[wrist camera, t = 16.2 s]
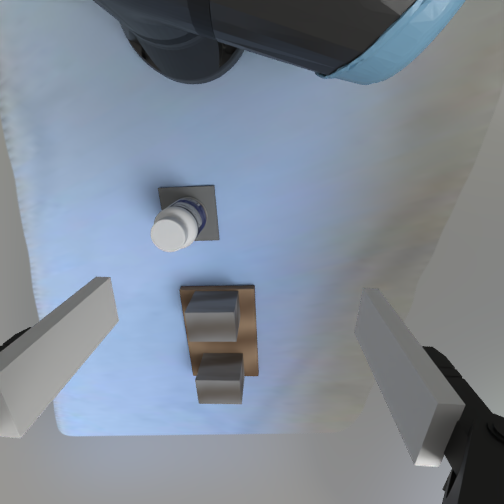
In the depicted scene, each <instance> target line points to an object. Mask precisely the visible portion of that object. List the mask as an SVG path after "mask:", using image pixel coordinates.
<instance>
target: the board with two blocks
mask: <svg viewBox="0 0 504 504" xmlns="http://www.w3.org/2000/svg"><path fill="white" fill-rule="evenodd" d="M179 291H180V297H181V303H182V309H183V315H184V321H185V327H186V334H187V340H188V346H189V352H190V358H191V364H192V370H193V376H196V380H195V382H196V388H197V394H198V400H199V404H242V396H243V386H244V376H258V373H259V370H258V349H257V328H256V307H255V286H254V285H243V286H182V287H181V288H180V290H179Z"/></svg>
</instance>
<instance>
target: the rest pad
mask: <svg viewBox="0 0 504 504" xmlns="http://www.w3.org/2000/svg"><path fill="white" fill-rule="evenodd" d="M158 191H159V197H160V203H161V209H162V210H163V209H165V208H167V207H168V206H170V205H171V204H172V203H174V202H175V201H177V200H179V199H181V198H184V197H191V198H194V199H196V200H198V201H199V202H201V203H202V204H203V206H204V207H205V209H206V212H207V222H206V224H205V226H204V228H203V229H202V231H201V232H200V233H199V235H198V236H197V238H196V239H195V240H194V241H205V240H219V230H218V219H217V209H216V198H215V187H214V186H194V187H168V188H158Z"/></svg>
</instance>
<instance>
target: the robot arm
mask: <svg viewBox="0 0 504 504" xmlns="http://www.w3.org/2000/svg"><path fill="white" fill-rule="evenodd" d="M93 1H94V2H96V3H97V4H98V5H100V6H101V7H102V8H103V9H105V10H106V11H107V12H108V13H110V14H111V15H112V16H113V17H115V18H116V19H117V20H118V21H119V22H120V24H121V26H122V29H123V31H124V33H125V35H126V37H127V39H128V41H129V42H130V44H131V45H132V47H133V48H134V50H135V51H136V52H137V54H138V55H139V56H140V57H141V58H142V59H143V60H144V61H145V62H146V63H147V64H148V65H149V66H150V67H152V68H153V69H154V70H156V71H157V72H159V73H160V74H162V75H164V76H165V77H167V78H169V79H171V80H174V81H176V82H180V83H185V84H202V83H206V82H210V81H212V80H215V79H217V78H219V77H220V76H222V75H223V74H225V73H226V72H227V71H228V70H230V69H231V68H232V67H233V66H234V64H235V63H236V62H237V61H238V59H239V58H240V57H241V55H242V53H243V52H244V50H247V51H250V52H253V53H256V54H259V55H263V56H266V57H269V58H272V59H276V60H279V61H282V62H285V63H288V64H292V65H295V66H298V67H301V68H305V69H308V70H311V71H314V72H315V74H316V75H317V76H319V77H321V78H324V79H327V78H330V79H332V78H337V79H341V80H345V81H349V82H353V83H357V84H361V85H369V84H372V83H378V82H380V81H384V80H386V79H388V78H390V77H392V76H393V75H395V74H396V73H398V72H399V71H401V70H402V69H403V68H405V67H406V66H407V65H408V64H409V63H411V62H412V61H413V60H414V59H415V58H416V57H417V56H418V55H419V54H420V53H421V52H422V51H423V50H424V49H425V48H426V47H427V46H428V45H429V44H430V43H431V42H432V41H433V40H434V39H435V37H436V36H437V35H438V34H439V33H440V32H441V31H442V30H443V28H444V27H445V26H446V25H447V24H448V22H449V21H450V20H451V19H452V17H453V16H454V15H455V14H456V12H457V11H458V10H459V9H460V7H461V6H462V5H463V3H464V2H465V1H466V0H93ZM118 321H119V319H118V314H117V309H116V304H115V299H114V294H113V289H112V283H111V278H110V277H95V278H94V279H93V280H91V281H90V282H89V283H88V284H86V285H85V286H84V287H82V288H81V289H80V290H79V291H77V292H76V293H75V294H74V295H72V296H71V297H70V298H68V299H67V300H66V301H65V302H63V303H62V304H61V305H60V306H58V307H57V308H56V309H54V310H53V311H52V312H51V313H49V314H48V315H47V316H46V317H44V318H43V319H42V320H40V321H39V322H38V323H37V324H35V325H34V326H33V327H29V328H27V329H25V330H23V331H21V332H19V333H17V334H15V335H14V336H13V337H11V338H10V339H9V340H7V341H6V342H5V343H3V346H0V437H12V438H22V437H23V435H24V434H25V433H26V432H27V431H28V429H29V428H30V427H31V426H32V424H33V423H34V422H35V421H36V420H37V419H38V417H39V416H40V415H41V414H42V413H43V411H44V410H45V409H46V408H47V406H48V405H49V404H50V403H51V402H52V401H53V399H54V398H55V397H56V396H57V395H58V393H59V392H60V391H61V390H62V389H63V387H64V386H65V385H66V384H67V382H68V381H69V380H70V379H71V378H72V376H73V375H74V374H75V373H76V372H77V370H78V369H79V368H80V367H81V366H82V364H83V363H84V362H85V361H86V360H87V358H88V357H89V356H90V355H91V354H92V352H93V351H94V350H95V349H96V348H97V346H98V345H99V344H100V343H101V342H102V340H103V339H104V338H105V337H106V336H107V334H108V333H109V332H110V331H111V330H112V328H113V327H114V326H115V325H116V324H117V322H118ZM354 333H355V335H356V337H357V339H358V341H359V344H360V346H361V348H362V350H363V352H364V355H365V357H366V359H367V361H368V364H369V366H370V368H371V370H372V372H373V375H374V377H375V379H376V381H377V383H378V386H379V388H380V390H381V392H382V394H383V397H384V399H385V401H386V403H387V406H388V408H389V410H390V412H391V414H392V417H393V419H394V421H395V423H396V425H397V428H398V430H399V432H400V434H401V436H402V439H403V441H404V443H405V445H406V448H407V450H408V452H409V454H410V456H411V458H412V461H413V463H414V465H417V466H432V467H439V466H440V464H441V461H442V459H443V457H444V455H445V456H446V458H447V460H448V461H449V463H450V465H451V467H452V470H451V472H450V474H449V476H448V478H447V481H446V483H445V485H444V487H443V490H444V491H445V494H444V498H443V502H442V504H504V417H501V416H498V415H496V414H493V413H492V412H491V411H490V410H489V409H488V407H487V406H486V405H485V404H484V402H483V401H482V400H481V399H480V398H479V397H478V395H477V394H476V393H475V392H474V390H473V389H472V388H471V387H470V386H469V384H468V383H467V382H466V381H465V379H462V376H461V375H460V373H459V372H458V371H457V370H456V369H455V367H454V366H453V365H452V364H451V363H450V361H449V360H448V359H447V358H446V356H444V355H443V354H442V353H440V352H439V351H438V350H436V349H435V348H433V347H424V346H421V345H420V344H419V342H418V341H417V339H416V338H415V337H414V335H413V334H412V333H411V332H410V330H409V329H408V327H407V326H406V325H405V323H404V322H403V321H402V319H401V318H400V317H399V315H398V314H397V313H396V311H395V310H394V309H393V307H392V306H391V305H390V303H389V302H388V301H387V299H386V298H385V297H384V295H383V294H382V293H381V291H380V290H379V289H376V288H363V291H362V296H361V301H360V306H359V312H358V317H357V322H356V327H355V332H354Z"/></svg>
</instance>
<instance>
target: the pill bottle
mask: <svg viewBox="0 0 504 504" xmlns="http://www.w3.org/2000/svg"><path fill="white" fill-rule="evenodd" d="M206 222H207V212H206V209H205V207H204V206H203V204H202V203H201V202H199V201H198V200H196V199H194V198H191V197H184V198H181V199H179V200H177V201H175V202H174V203H172V204H171V205H170V206H168V207H167V208H165V209H163V210H162V211H161V212H160V213H159V214H158V215H157V216H156V218H155V221H154V225H153V227H152V229H151V239H152V241H153V243H154V244H155V245H156V246H157V247H158V248H159V249H161V250H163V251H166V252H174V251H177V250H179V249H183V248H186V247H188V246H189V245H190V244H192V243H193V241H194V240H195V239H196V238H197V236H198V235H199V233H200V232H201V231H202V229H203V228H204V226H205V224H206Z"/></svg>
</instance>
